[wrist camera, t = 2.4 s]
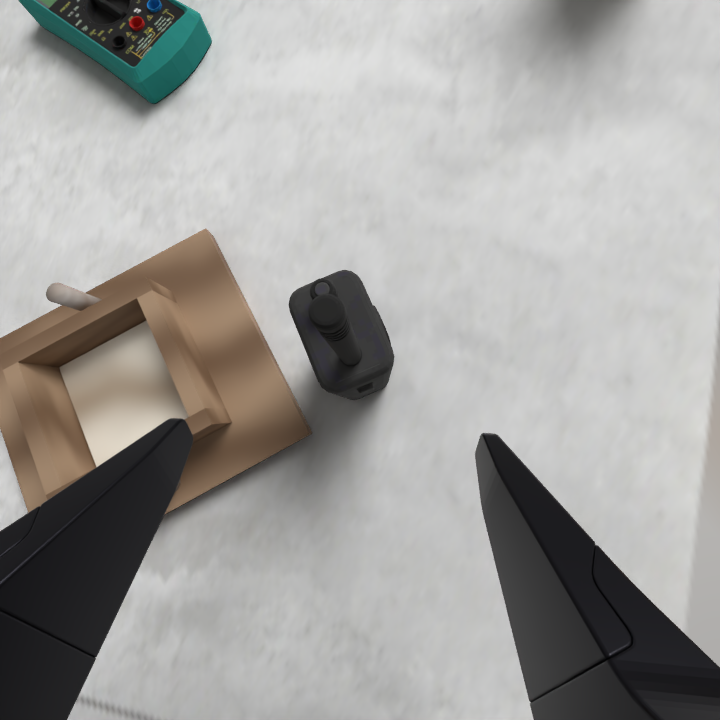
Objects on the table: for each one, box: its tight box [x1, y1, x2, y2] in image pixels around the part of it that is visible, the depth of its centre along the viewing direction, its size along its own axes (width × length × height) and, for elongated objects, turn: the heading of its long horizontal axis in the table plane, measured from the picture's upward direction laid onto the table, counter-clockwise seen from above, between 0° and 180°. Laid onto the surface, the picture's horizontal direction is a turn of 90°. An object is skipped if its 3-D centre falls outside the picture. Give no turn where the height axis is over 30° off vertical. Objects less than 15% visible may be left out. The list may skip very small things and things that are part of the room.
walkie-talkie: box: [289, 270, 394, 400], centre depth 14 cm, size 5×3×15 cm
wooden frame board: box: [0, 229, 312, 515], centre depth 20 cm, size 16×18×4 cm
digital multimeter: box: [19, 0, 212, 103], centre depth 26 cm, size 7×15×3 cm, turn 52°
